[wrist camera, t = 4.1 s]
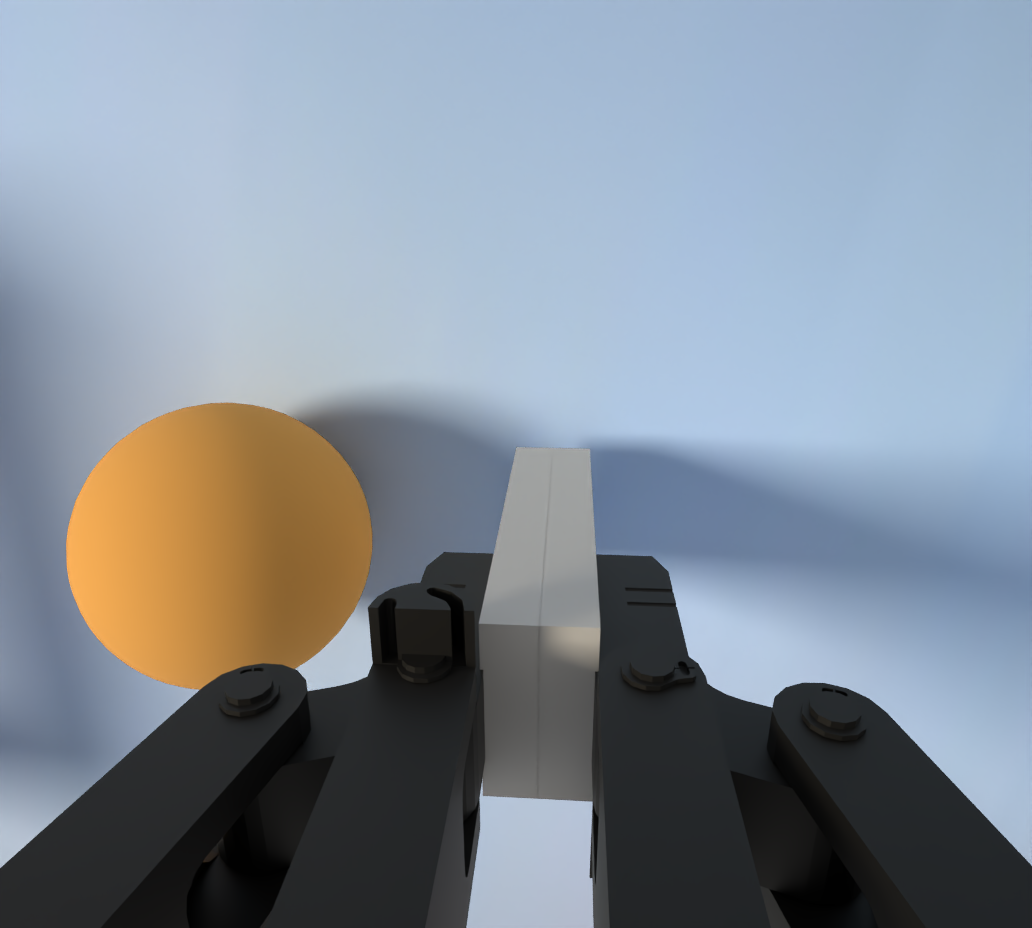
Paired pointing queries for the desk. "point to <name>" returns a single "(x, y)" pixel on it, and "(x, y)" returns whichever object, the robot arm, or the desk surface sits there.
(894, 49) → the desk surface
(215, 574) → the ball
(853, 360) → the desk surface
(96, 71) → the desk surface
